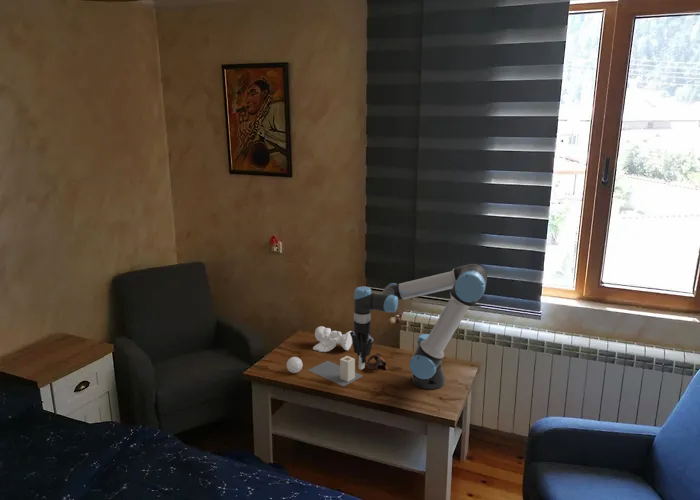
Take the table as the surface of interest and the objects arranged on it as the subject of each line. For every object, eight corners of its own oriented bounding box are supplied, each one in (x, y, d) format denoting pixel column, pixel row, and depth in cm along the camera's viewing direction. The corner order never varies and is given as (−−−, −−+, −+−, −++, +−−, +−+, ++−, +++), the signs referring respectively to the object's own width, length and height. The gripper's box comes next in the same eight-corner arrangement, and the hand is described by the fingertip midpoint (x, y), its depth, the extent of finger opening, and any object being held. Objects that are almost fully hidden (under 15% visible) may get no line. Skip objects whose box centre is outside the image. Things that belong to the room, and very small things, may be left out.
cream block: (354, 378, 259) (354, 358, 256) (347, 381, 255) (347, 362, 253) (347, 374, 262) (347, 355, 259) (340, 378, 258) (340, 359, 256)
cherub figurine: (345, 338, 279) (310, 329, 285) (343, 359, 283) (308, 350, 289) (354, 328, 291) (320, 319, 297) (352, 348, 295) (318, 339, 301)
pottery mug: (388, 374, 265) (381, 362, 261) (371, 380, 267) (364, 368, 264) (388, 357, 275) (381, 346, 272) (372, 363, 278) (364, 352, 274)
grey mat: (363, 376, 261) (363, 375, 261) (343, 387, 251) (343, 386, 251) (327, 361, 277) (327, 360, 277) (307, 370, 267) (307, 370, 266)
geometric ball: (299, 376, 266) (307, 367, 263) (285, 375, 262) (293, 365, 258) (295, 364, 271) (303, 354, 268) (281, 362, 267) (289, 352, 263)
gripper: (378, 322, 243) (377, 370, 249) (356, 314, 251) (356, 361, 258) (367, 326, 238) (367, 375, 244) (346, 319, 246) (345, 366, 252)
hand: (361, 368), depth 251 cm, fingers closed
